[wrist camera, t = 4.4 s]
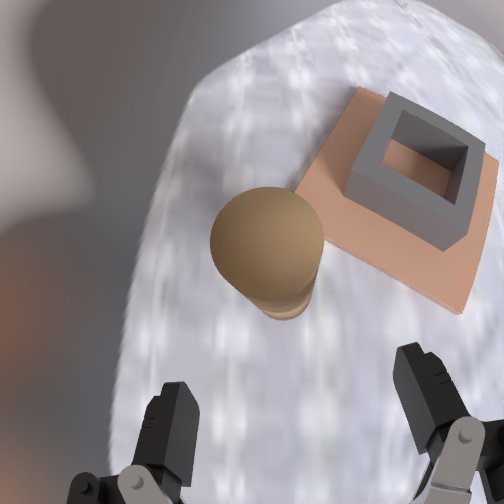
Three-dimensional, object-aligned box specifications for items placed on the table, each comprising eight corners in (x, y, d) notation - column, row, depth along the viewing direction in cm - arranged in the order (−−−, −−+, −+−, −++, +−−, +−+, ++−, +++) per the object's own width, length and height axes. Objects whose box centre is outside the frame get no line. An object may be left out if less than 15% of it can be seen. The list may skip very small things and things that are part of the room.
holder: (358, 93, 26) (363, 56, 22) (494, 166, 22) (517, 139, 17) (282, 217, 24) (277, 186, 19) (456, 314, 19) (490, 306, 15)
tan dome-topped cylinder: (273, 256, 23) (248, 171, 12) (320, 282, 22) (343, 217, 10) (245, 302, 22) (189, 259, 11) (292, 330, 21) (286, 317, 10)
